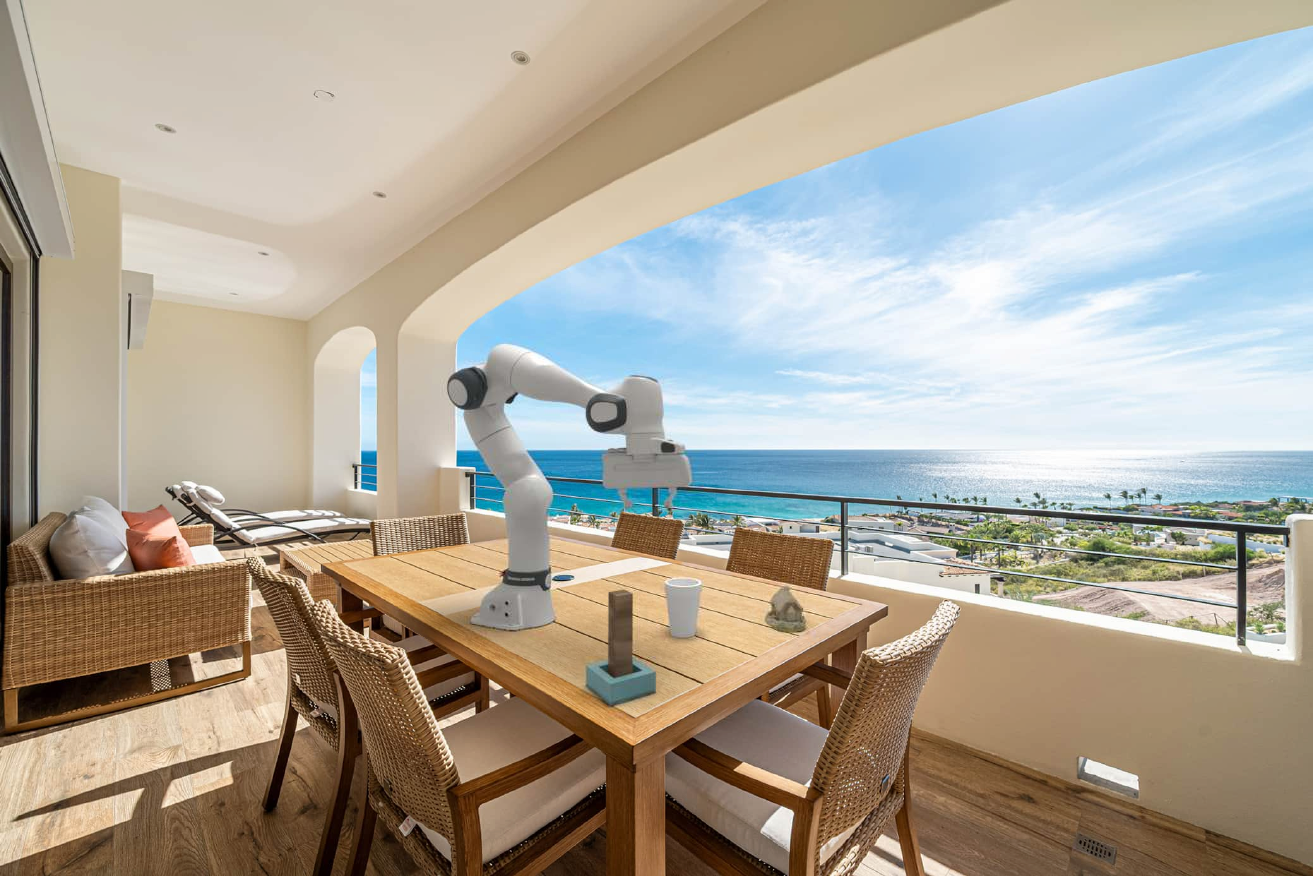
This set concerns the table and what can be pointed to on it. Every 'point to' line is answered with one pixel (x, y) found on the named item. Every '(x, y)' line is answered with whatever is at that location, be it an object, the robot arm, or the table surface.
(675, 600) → the foam cup
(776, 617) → the ceramic model
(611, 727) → the table surface
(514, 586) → the robot arm
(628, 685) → the light blue square container
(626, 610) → the wooden block
